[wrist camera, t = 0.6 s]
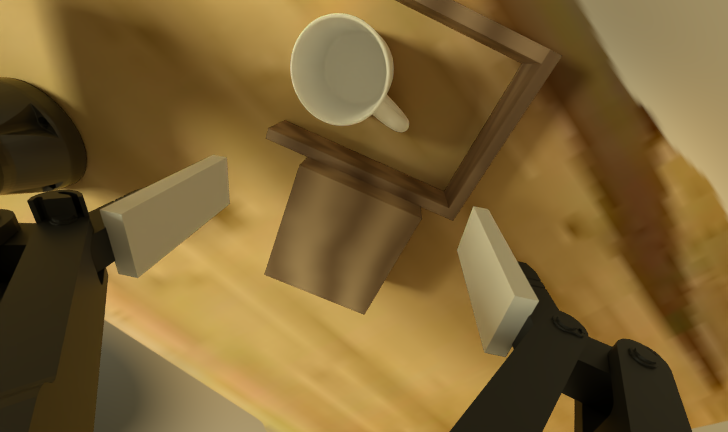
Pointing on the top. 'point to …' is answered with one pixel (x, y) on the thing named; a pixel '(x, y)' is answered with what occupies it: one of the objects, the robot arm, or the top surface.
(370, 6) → the top surface
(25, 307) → the robot arm
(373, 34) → the mug
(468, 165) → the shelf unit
